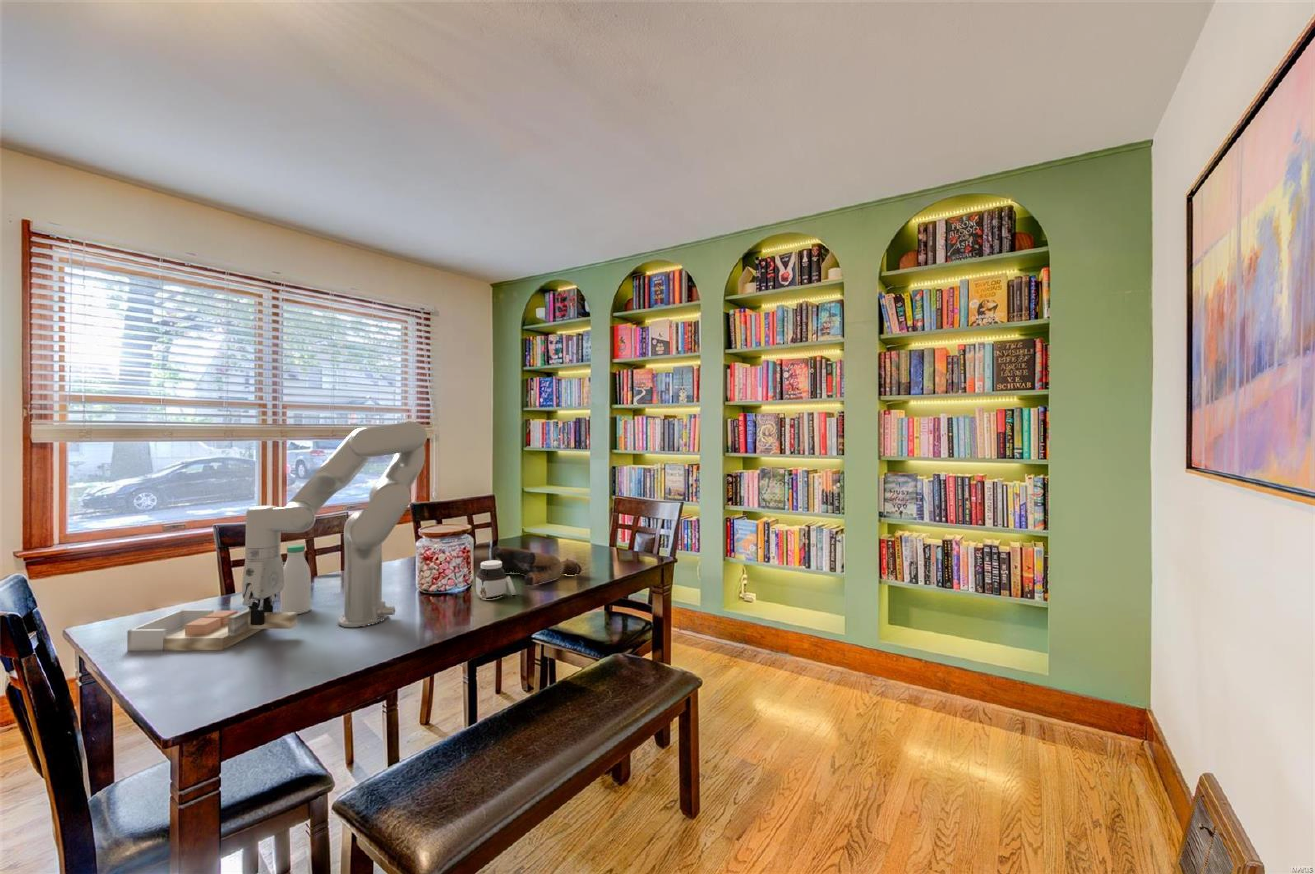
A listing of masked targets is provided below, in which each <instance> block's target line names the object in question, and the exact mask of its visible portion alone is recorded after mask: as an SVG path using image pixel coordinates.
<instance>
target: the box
mask: <svg viewBox="0 0 1315 874" xmlns="http://www.w3.org/2000/svg"><path fill="white" fill-rule="evenodd" d="M214 612H215V611H214V609H180V610H177V611H174V612H172V613H170V614H167V615H164V616H162V617H160V618H156V619H154V620H151V621H149V622H146V623H144V624H141V625H138V626H136V627H133V628H131V629H127V636H126V638H127V643H126V644H127V645H126V646H127V647H126V648H127V649H126V650H127V652H133V651H134V652H137V651H138V652H140V651H141V652H142V651H143V652H145V651H148V652H149V651H151V652H152V651H155V652H158V651H164V638H166V637H169V636H171V635H173V634H176V633H178V632H180V631H182V630H185V625H186V624H188V623H190V622H193V621H195V620H198V619H200V618H204V617H205V616H207V615H209V614H212V613H214Z"/></svg>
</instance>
